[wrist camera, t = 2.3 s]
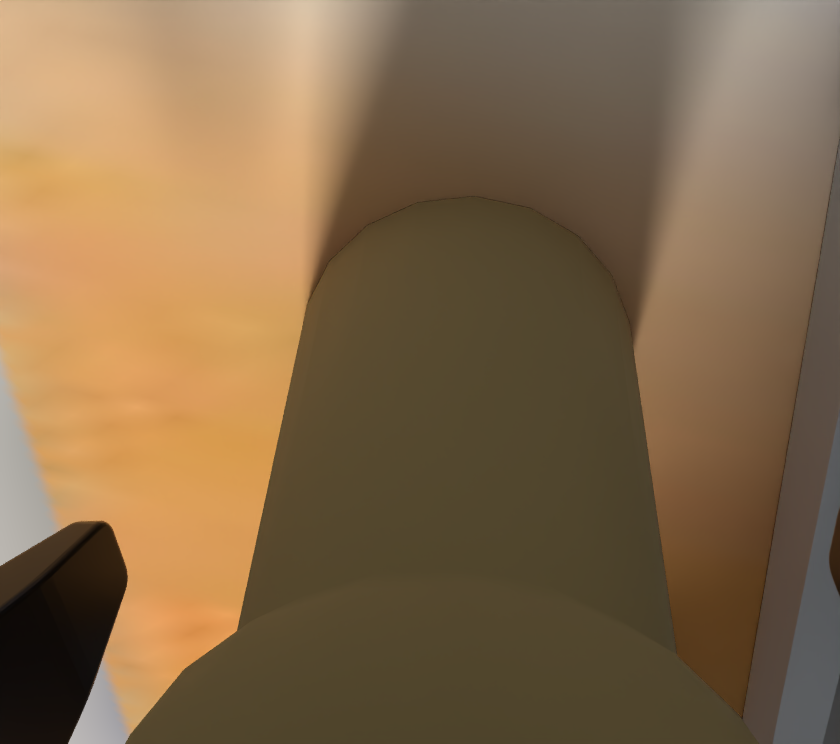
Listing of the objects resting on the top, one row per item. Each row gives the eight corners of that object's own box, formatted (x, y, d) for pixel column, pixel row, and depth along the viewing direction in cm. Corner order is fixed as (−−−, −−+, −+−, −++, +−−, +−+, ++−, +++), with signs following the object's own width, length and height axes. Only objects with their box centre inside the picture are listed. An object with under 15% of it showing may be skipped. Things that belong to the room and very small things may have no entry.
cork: (420, 537, 15) (316, 1508, 5) (235, 314, 13) (-492, 1232, 3) (688, 406, 13) (1288, 1531, 3) (521, 122, 11) (839, 909, 1)
